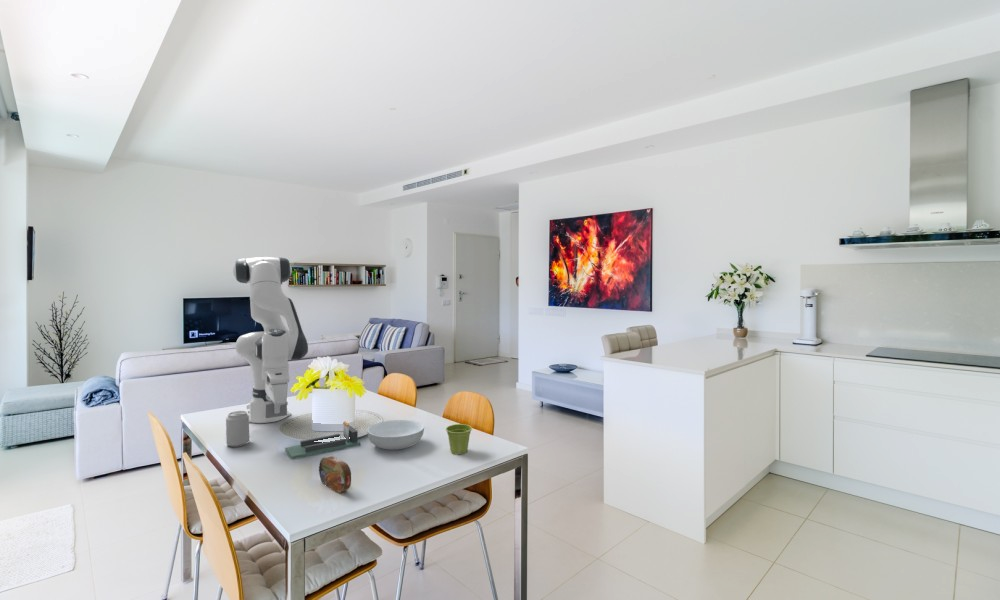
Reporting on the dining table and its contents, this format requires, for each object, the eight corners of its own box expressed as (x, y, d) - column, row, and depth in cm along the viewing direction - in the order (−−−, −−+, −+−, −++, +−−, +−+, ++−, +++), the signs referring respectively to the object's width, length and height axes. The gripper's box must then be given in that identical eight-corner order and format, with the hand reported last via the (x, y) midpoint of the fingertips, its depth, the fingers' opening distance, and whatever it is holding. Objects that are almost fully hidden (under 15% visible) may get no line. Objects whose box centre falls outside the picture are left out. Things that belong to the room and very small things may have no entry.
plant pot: (464, 458, 161) (464, 433, 161) (440, 453, 165) (440, 430, 165) (476, 449, 170) (476, 426, 169) (454, 445, 174) (454, 422, 173)
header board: (285, 450, 167) (284, 429, 167) (351, 437, 181) (351, 417, 181) (291, 459, 159) (291, 436, 159) (359, 444, 173) (359, 424, 173)
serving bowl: (435, 443, 176) (435, 425, 176) (394, 460, 159) (394, 441, 159) (397, 432, 188) (397, 415, 188) (355, 447, 171) (355, 429, 170)
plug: (263, 415, 170) (263, 401, 169) (285, 412, 174) (285, 399, 174) (265, 418, 166) (265, 404, 166) (287, 415, 171) (287, 401, 170)
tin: (318, 481, 142) (317, 454, 142) (327, 478, 145) (327, 451, 144) (343, 497, 132) (343, 468, 132) (353, 493, 135) (353, 464, 134)
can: (239, 448, 169) (238, 416, 168) (221, 446, 170) (221, 414, 170) (254, 441, 176) (253, 410, 176) (237, 440, 178) (236, 409, 177)
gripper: (260, 369, 176) (260, 404, 177) (271, 380, 159) (270, 420, 160) (279, 367, 179) (278, 402, 180) (290, 378, 163) (290, 417, 164)
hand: (275, 410), depth 170 cm, fingers closed on plug, 4 cm apart
